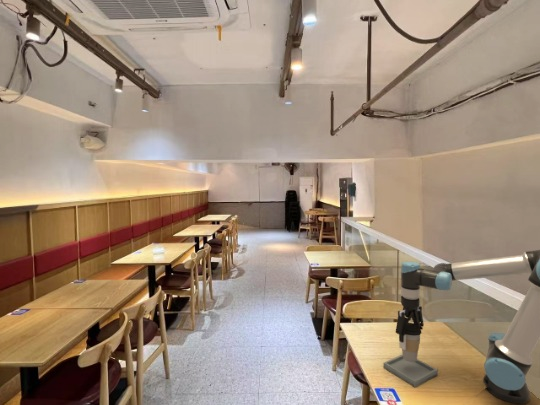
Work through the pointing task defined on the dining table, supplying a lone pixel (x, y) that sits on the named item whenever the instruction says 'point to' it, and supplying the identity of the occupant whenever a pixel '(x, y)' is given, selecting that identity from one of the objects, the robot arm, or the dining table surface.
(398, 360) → the tray
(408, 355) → the coffee cup
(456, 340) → the dining table surface
